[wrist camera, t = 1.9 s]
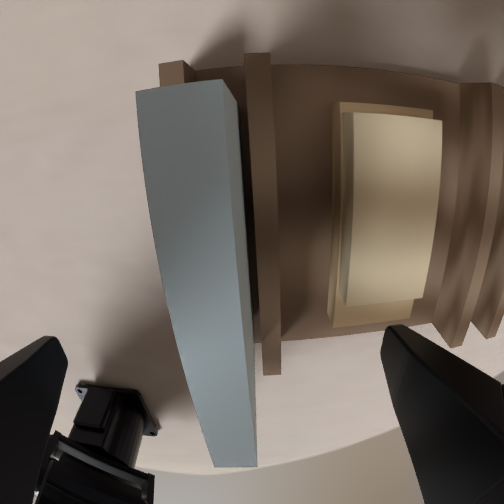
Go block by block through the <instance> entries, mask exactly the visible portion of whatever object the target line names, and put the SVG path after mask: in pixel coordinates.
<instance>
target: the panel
mask: <svg viewBox="0 0 504 504" xmlns="http://www.w3.org/2000/svg"><path fill="white" fill-rule="evenodd" d="M136 105H137V117H138V128H139V138H140V147H141V156H142V164H143V172H144V179H145V187H146V194H147V200H148V207H149V213H150V219H151V225H152V231H153V237H154V242H155V248H156V253H157V258H158V264H159V269H160V274H161V278H162V283H163V288H164V293H165V297H166V302H167V306H168V310H169V315H170V319H171V323H172V327H173V331H174V335H175V339H176V343H177V347H178V351H179V355H180V359H181V362H182V366H183V370H184V373H185V377H186V380H187V384H188V387H189V391H190V394H191V397H192V401H193V404H194V407H195V411H196V414H197V417H198V420H199V423H200V426H201V429H202V432H203V435H204V438H205V441H206V444H207V447H208V450H209V453H210V456H211V459H212V461H213V464H214V467H257V435H256V396H255V358H254V319H253V304H252V290H251V276H250V261H249V247H248V232H247V218H246V203H245V189H244V174H243V159H242V144H241V129H240V114H239V105H238V103H237V101H236V100H235V98H234V97H233V95H232V93H231V92H230V90H229V89H228V87H227V86H226V84H225V83H224V81H223V79H218V80H208V81H199V82H191V83H183V84H176V85H170V86H164V87H158V88H152V89H146V90H141V91H136Z"/></svg>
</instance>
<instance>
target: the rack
mask: <svg viewBox="0 0 504 504" xmlns="http://www.w3.org/2000/svg"><path fill="white" fill-rule="evenodd" d="M244 63H245V66H239V67H226V68H215V69H206V70H197V71H195V70H194V69H193V68H191V67H190V66H189V65H188V64H187V63H186V62H185V61H183V60H180V61H174V62H168V63H162V64H159V78H160V87H164V86H170V85H176V84H183V83H191V82H199V81H208V80H218V79H223V81H224V83H225V84H226V86H227V87H228V89H229V90H230V92H231V93H232V95H233V97H234V98H235V100H236V101H237V103H238V105H239V114H240V129H241V144H242V159H243V174H244V189H245V203H246V218H247V232H248V247H249V261H250V276H251V290H252V304H253V319H254V343H260V342H262V360H263V376H265V375H280V374H281V341H290V340H302V339H313V338H324V337H333V336H343V335H351V334H359V333H367V332H375V331H382V330H385V329H386V327H387V326H389V325H395V324H403V325H405V326H406V327H409V326H415V325H421V324H426V323H432V324H433V325H434V326H435V328H436V329H437V331H438V332H439V333H440V335H441V336H442V337H443V339H444V340H445V342H446V343H447V344H448V346H449V347H450V348H454V347H458V346H462V343H463V341H464V338H465V335H466V332H467V330H468V327H469V324H470V321H471V322H472V323H473V324H474V325H475V327H476V328H477V329H478V330H479V331H480V333H481V334H482V335H483V336H484V337H485V338H486V339H488V338H491V337H495V335H496V333H497V330H498V328H499V325H500V323H501V320H502V317H503V315H504V87H502V86H499V85H497V84H493V83H468V84H457V83H453V82H449V81H444V80H440V79H435V78H430V77H424V76H419V75H413V74H407V73H400V72H393V71H386V70H377V69H368V68H358V67H345V66H328V65H270V53H249V54H244ZM336 102H353V103H369V104H382V105H392V106H402V107H411V108H419V109H426V110H433V119H434V120H441V121H442V158H441V175H440V188H439V199H438V208H437V217H436V225H435V232H434V239H433V245H432V251H431V257H430V263H429V268H428V273H427V278H426V283H425V288H424V293H423V297H422V298H418V299H414V301H413V306H412V310H411V315H410V318H407V319H401V320H394V321H386V322H379V323H371V324H363V325H355V326H346V327H336V328H333V327H332V324H331V322H330V319H329V316H328V313H327V307H328V293H329V277H330V258H331V233H332V121H331V103H336Z"/></svg>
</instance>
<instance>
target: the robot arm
mask: <svg viewBox="0 0 504 504" xmlns="http://www.w3.org/2000/svg"><path fill="white" fill-rule="evenodd" d="M380 354H381V360H382V364H383V368H384V372H385V376H386V380H387V384H388V388H389V392H390V396H391V400H392V404H393V407H394V410H395V413H396V416H397V419H398V422H399V424H400V427H401V430H402V433H403V436H404V439H405V442H406V445H407V448H408V451H409V454H410V457H411V460H412V463H413V466H414V469H415V472H416V476H417V479H418V482H419V486H420V489H421V492H422V496H423V499H424V503H425V504H504V384H502V385H501V383H500V382H499V381H497V380H496V379H494V378H492V377H491V376H489V375H487V374H486V373H484V372H482V371H481V370H479V369H477V368H476V367H474V366H472V365H471V364H469V363H467V362H466V361H464V360H462V359H461V358H459V357H457V356H455V355H454V354H452V353H450V352H449V351H447V350H445V349H444V348H442V347H440V346H439V345H437V344H435V343H434V342H432V341H430V340H428V339H427V338H425V337H423V336H422V335H420V334H418V333H417V332H415V331H413V330H411V329H410V328H408V327H406V326H405V325H403V324H395V325H389V326H387V327H386V329H385V333H384V337H383V342H382V346H381V352H380ZM67 367H68V360H67V357H66V355H65V353H64V351H63V348H62V346H61V344H60V342H59V340H58V339H57V338H56V337H54V336H43V337H41V338H40V339H38V340H36V341H34V342H33V343H31V344H29V345H28V346H26V347H24V348H23V349H21V350H19V351H18V352H16V353H14V354H13V355H11V356H9V357H8V358H6V359H4V360H3V361H1V362H0V504H32V503H33V497H34V496H36V497H37V499H36V502H35V504H153V500H154V478H155V476H154V475H152V474H150V473H148V474H147V473H144V472H141V471H139V470H136V469H134V468H135V464H136V459H137V455H138V452H139V448H140V444H141V440H142V436H143V435H146V436H157V434H158V430H157V428H156V426H155V424H154V422H153V420H152V418H151V416H150V414H149V411H148V409H147V407H146V405H145V403H144V400H143V398H142V396H141V394H140V393H139V392H138V391H136V390H127V389H116V388H106V387H97V386H89V385H81V384H77V385H76V387H75V391H76V392H77V394H78V396H79V397H80V399H81V401H82V403H81V405H80V407H79V409H78V412H77V414H76V416H75V418H74V421H73V422H74V425H73V427H72V429H71V432H70V434H69V437H68V438H67V437H65V436H63V435H61V433H60V432H58V431H56V430H55V432H54V434H52V435H49V434H50V431H51V427H52V424H53V421H54V418H55V415H56V411H57V408H58V404H59V399H60V395H61V391H62V386H63V382H64V378H65V374H66V370H67ZM55 457H57V458H58V459H59V461H58V460H56V459H55Z"/></svg>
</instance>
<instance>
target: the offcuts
mask: <svg viewBox="0 0 504 504" xmlns="http://www.w3.org/2000/svg"><path fill="white" fill-rule="evenodd" d="M331 121H332V233H331V258H330V277H329V293H328V307H327V313H328V316H329V319H330V322H331V324H332V327H333V328H336V327H346V326H355V325H363V324H371V323H379V322H386V321H394V320H401V319H407V318H410V315H411V310H412V306H413V301H414V299H418V298H422V297H423V293H424V288H425V283H426V278H427V273H428V268H429V263H430V257H431V251H432V245H433V239H434V232H435V225H436V217H437V208H438V199H439V188H440V175H441V158H442V121H441V120H434V119H433V110H426V109H419V108H411V107H402V106H392V105H382V104H369V103H353V102H336V103H331Z"/></svg>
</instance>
